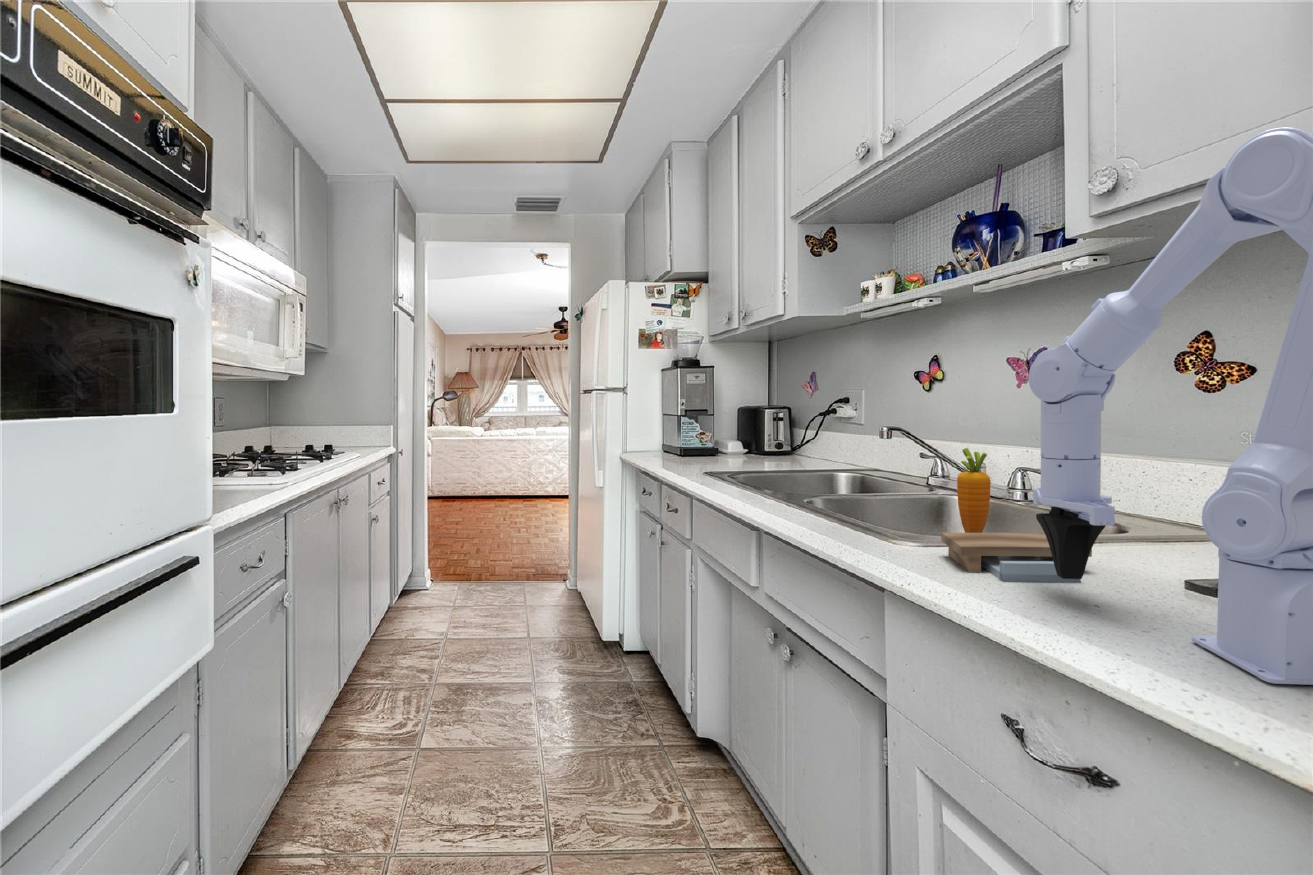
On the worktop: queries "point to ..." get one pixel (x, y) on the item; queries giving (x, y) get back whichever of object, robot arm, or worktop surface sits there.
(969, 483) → the carrot
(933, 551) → the worktop surface
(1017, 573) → the light blue lipped plate
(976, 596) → the worktop surface
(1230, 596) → the robot arm
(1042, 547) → the bench
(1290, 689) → the worktop surface
